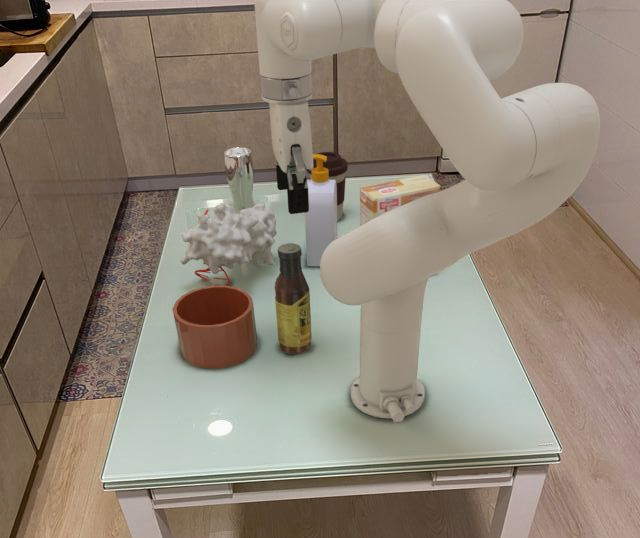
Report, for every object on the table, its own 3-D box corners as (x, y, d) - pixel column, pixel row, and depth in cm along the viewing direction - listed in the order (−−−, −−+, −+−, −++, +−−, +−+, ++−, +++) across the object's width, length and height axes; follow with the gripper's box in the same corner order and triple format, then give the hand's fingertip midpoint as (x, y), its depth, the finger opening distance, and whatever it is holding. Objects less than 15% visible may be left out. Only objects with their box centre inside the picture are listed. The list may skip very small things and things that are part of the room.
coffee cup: (303, 211, 172) (301, 152, 162) (340, 206, 174) (339, 146, 164) (315, 227, 165) (312, 166, 155) (353, 221, 167) (353, 160, 157)
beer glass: (262, 208, 174) (257, 149, 165) (246, 218, 170) (240, 158, 160) (241, 203, 177) (234, 145, 168) (225, 213, 173) (217, 154, 163)
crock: (263, 361, 123) (258, 319, 117) (184, 374, 121) (176, 332, 115) (250, 320, 134) (246, 280, 128) (178, 332, 132) (170, 291, 126)
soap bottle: (307, 248, 157) (303, 148, 142) (337, 248, 156) (336, 148, 141) (303, 267, 150) (298, 163, 135) (334, 267, 149) (332, 163, 134)
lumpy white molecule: (199, 296, 156) (169, 286, 132) (194, 214, 154) (162, 189, 129) (284, 291, 155) (269, 281, 130) (280, 209, 153) (264, 183, 128)
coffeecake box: (419, 259, 151) (425, 173, 138) (434, 274, 146) (442, 185, 133) (358, 273, 147) (358, 185, 134) (371, 288, 142) (373, 198, 129)
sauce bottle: (308, 357, 124) (302, 259, 111) (275, 354, 125) (266, 256, 112) (315, 337, 129) (311, 241, 116) (283, 335, 130) (276, 239, 117)
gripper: (325, 100, 92) (327, 219, 103) (299, 69, 105) (304, 177, 116) (271, 106, 91) (279, 225, 102) (252, 73, 104) (261, 182, 115)
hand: (292, 200), depth 109 cm, fingers open, 9 cm apart
